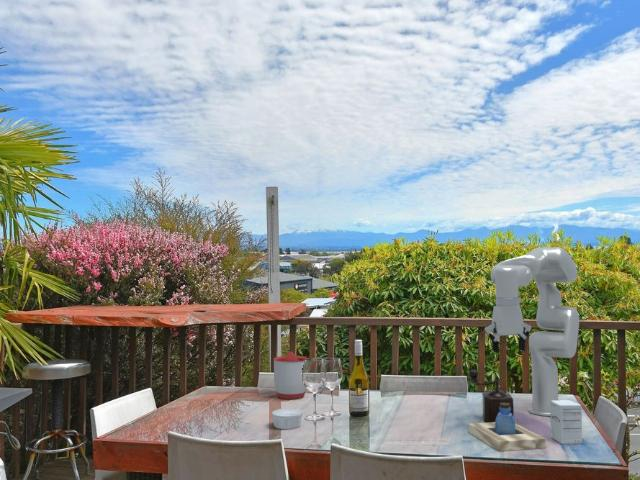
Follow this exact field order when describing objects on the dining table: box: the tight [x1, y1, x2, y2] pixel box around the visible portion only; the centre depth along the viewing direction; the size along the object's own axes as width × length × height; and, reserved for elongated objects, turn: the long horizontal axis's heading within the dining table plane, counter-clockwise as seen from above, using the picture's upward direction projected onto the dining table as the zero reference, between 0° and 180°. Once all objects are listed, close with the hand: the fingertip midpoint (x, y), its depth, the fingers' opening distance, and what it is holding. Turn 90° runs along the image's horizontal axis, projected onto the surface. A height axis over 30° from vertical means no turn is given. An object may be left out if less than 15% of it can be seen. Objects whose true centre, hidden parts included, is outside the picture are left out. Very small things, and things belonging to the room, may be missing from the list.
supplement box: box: [550, 399, 583, 445], centre depth 203 cm, size 7×7×13 cm
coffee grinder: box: [467, 369, 515, 423], centre depth 230 cm, size 16×11×18 cm
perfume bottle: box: [495, 403, 516, 435], centre depth 204 cm, size 6×6×12 cm
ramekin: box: [271, 407, 303, 431], centre depth 223 cm, size 11×11×5 cm
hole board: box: [468, 422, 546, 452], centre depth 204 cm, size 16×22×3 cm
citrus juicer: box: [273, 351, 308, 400], centre depth 272 cm, size 16×17×20 cm
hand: (508, 351), depth 215 cm, fingers open, 9 cm apart
